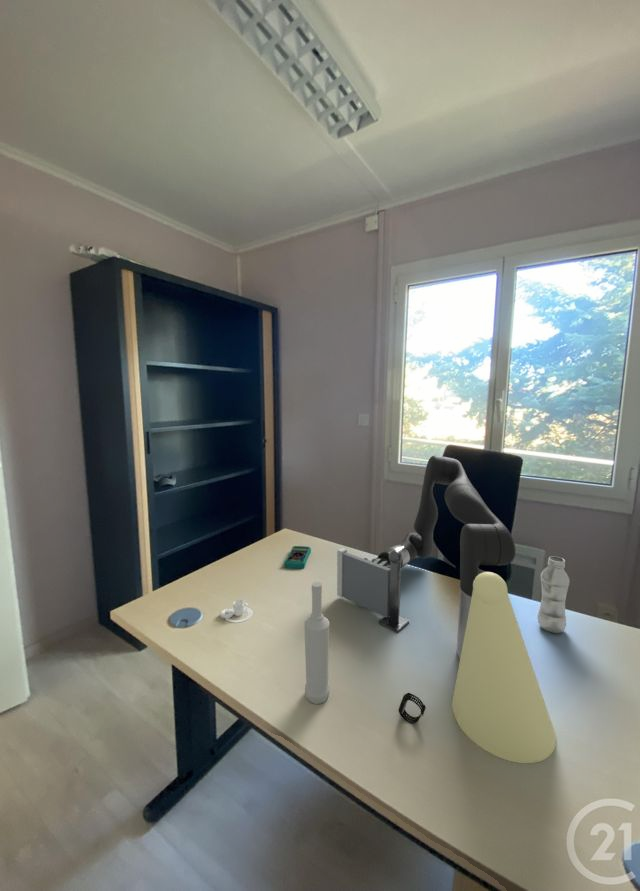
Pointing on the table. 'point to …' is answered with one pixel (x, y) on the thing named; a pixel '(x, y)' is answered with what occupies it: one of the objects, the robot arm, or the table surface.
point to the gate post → (394, 595)
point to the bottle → (317, 650)
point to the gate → (363, 582)
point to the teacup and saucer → (236, 611)
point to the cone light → (500, 681)
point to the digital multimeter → (297, 557)
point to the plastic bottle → (553, 596)
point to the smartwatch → (403, 705)
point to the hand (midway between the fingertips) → (363, 577)
